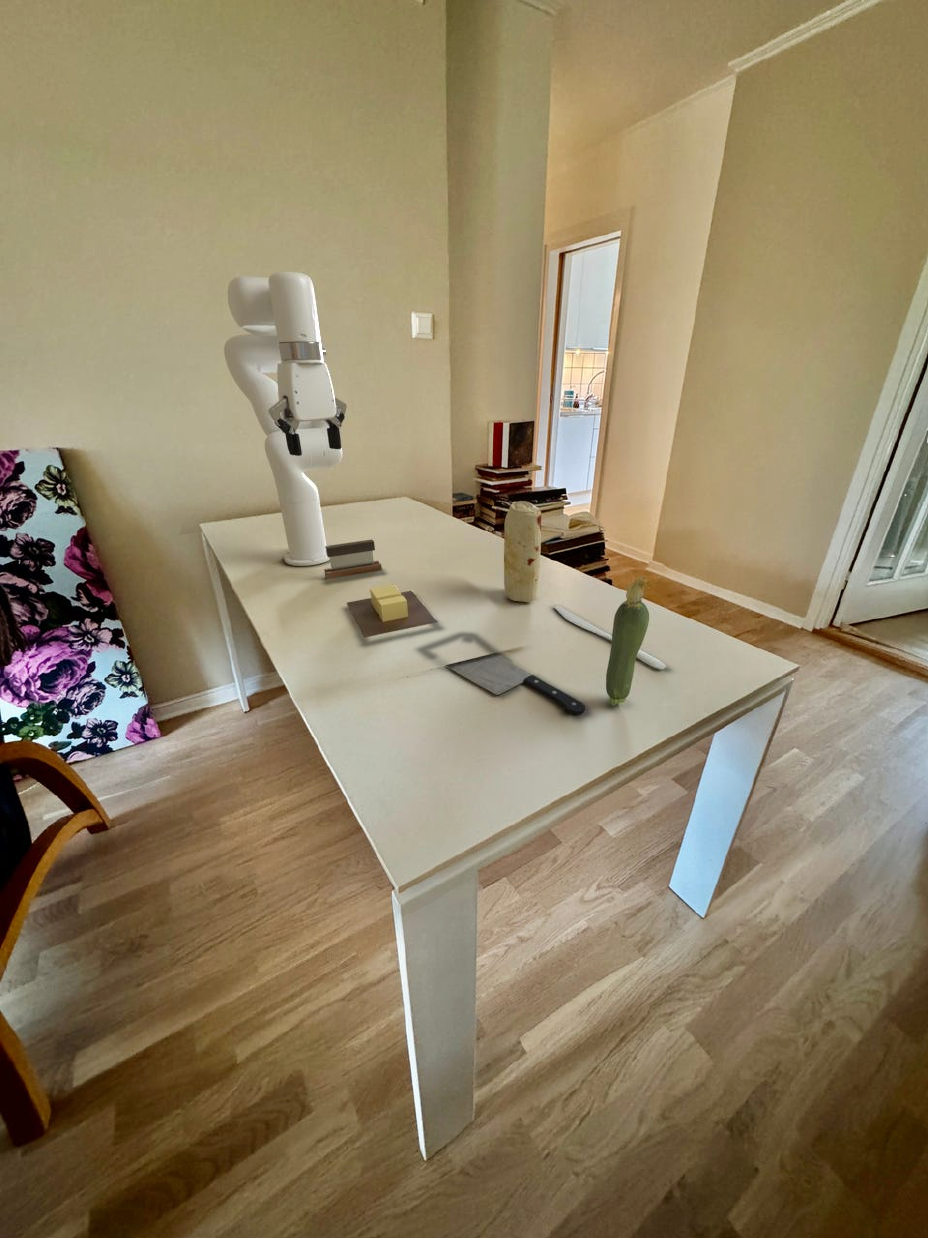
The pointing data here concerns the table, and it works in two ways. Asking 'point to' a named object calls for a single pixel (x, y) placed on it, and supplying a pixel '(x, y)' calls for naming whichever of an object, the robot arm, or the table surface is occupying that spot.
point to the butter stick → (383, 594)
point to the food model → (522, 551)
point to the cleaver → (510, 679)
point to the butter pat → (392, 608)
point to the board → (375, 626)
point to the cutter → (351, 554)
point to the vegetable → (626, 642)
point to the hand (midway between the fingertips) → (316, 451)
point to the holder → (352, 571)
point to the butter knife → (590, 627)
